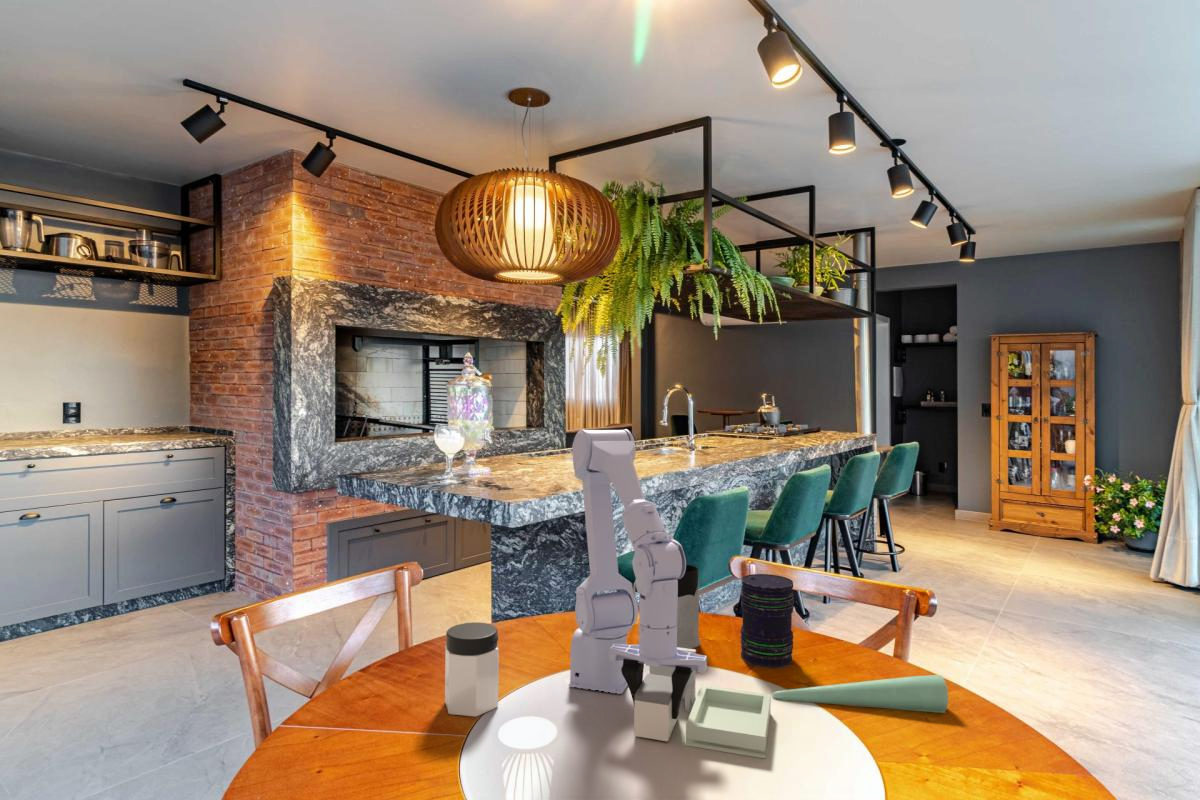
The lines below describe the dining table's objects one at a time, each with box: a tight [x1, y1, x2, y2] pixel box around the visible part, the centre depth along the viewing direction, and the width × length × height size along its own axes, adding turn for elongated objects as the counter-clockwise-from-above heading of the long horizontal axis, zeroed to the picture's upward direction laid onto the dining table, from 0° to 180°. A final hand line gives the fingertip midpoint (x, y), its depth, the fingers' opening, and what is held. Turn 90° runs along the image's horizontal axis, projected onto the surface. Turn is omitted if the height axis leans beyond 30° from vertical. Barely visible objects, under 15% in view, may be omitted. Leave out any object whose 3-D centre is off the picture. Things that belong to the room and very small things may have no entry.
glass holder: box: [632, 563, 702, 649], centre depth 137 cm, size 9×14×15 cm, turn 102°
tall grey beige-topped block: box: [633, 673, 679, 742], centre depth 101 cm, size 5×8×6 cm, turn 163°
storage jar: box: [739, 573, 795, 669], centre depth 129 cm, size 10×10×15 cm
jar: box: [444, 621, 500, 718], centre depth 108 cm, size 9×8×12 cm
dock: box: [649, 647, 697, 713], centre depth 110 cm, size 8×5×8 cm
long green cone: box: [772, 674, 949, 714], centre depth 110 cm, size 5×6×27 cm
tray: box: [685, 684, 772, 760], centre depth 101 cm, size 11×14×3 cm
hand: (656, 713), depth 101 cm, fingers closed on tall grey beige-topped block, 5 cm apart
